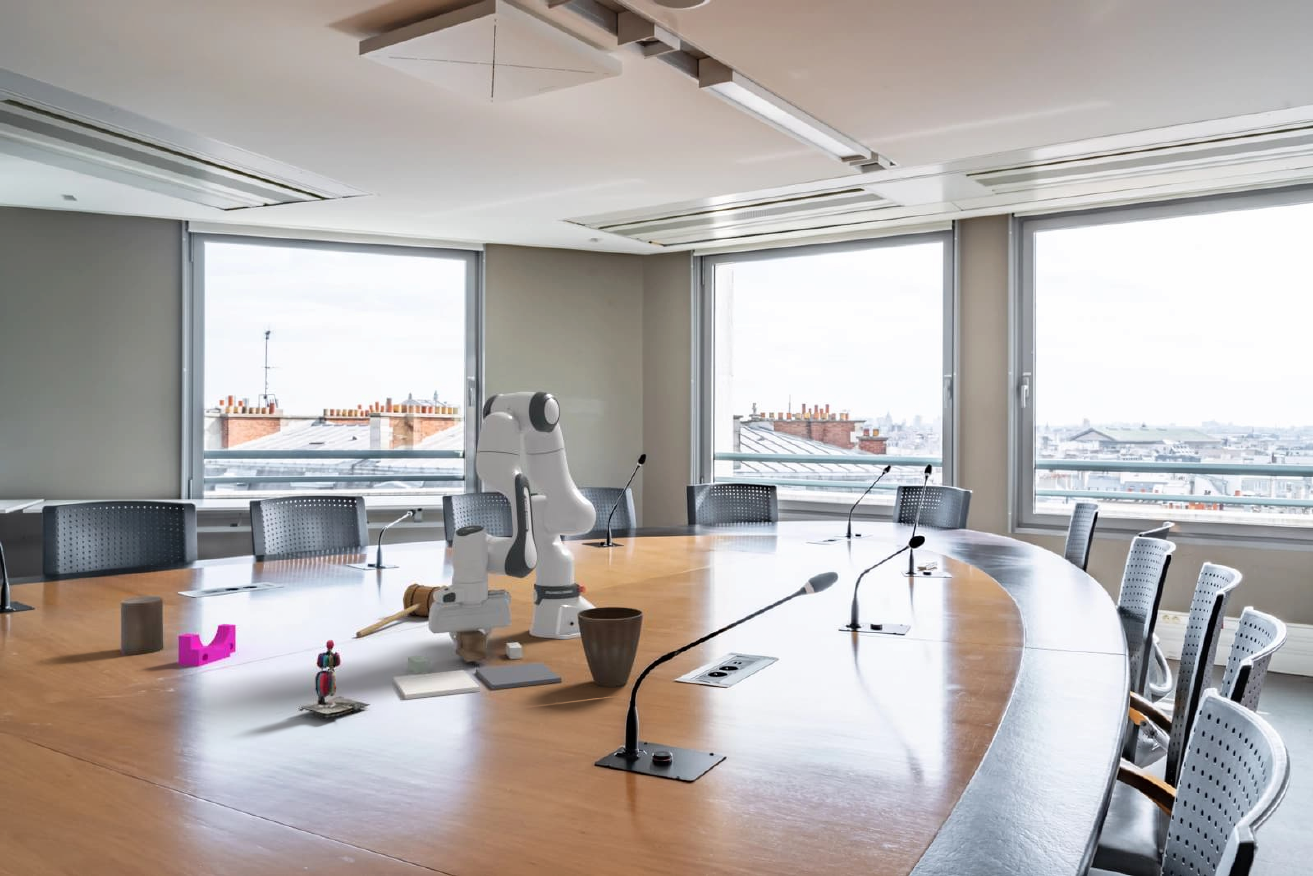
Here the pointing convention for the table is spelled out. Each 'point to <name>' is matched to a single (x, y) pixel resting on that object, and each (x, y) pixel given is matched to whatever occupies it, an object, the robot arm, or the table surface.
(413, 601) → the mallet
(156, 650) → the pillar candle
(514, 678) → the charcoal mat
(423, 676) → the off-white mat
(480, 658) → the walnut brick
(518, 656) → the pale grey brick
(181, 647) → the magenta cradle bracket
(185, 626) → the table surface
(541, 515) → the robot arm
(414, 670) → the sage brick
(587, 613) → the plant pot
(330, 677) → the statue
